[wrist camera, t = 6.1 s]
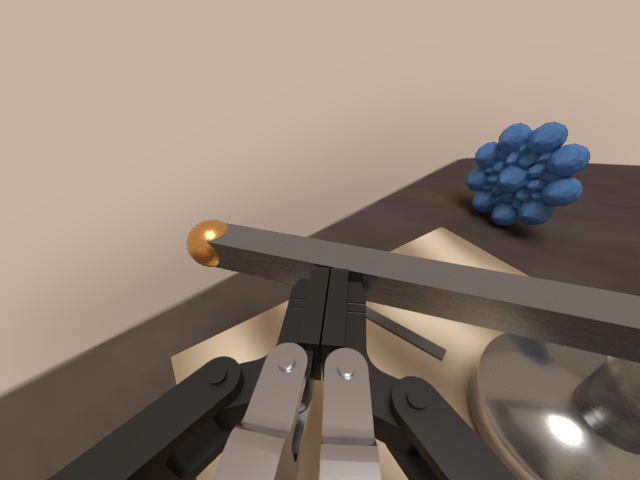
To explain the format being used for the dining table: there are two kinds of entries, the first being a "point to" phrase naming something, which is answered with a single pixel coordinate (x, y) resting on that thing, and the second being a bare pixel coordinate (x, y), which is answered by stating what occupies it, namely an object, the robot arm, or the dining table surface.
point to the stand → (374, 349)
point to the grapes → (527, 174)
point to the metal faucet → (493, 345)
